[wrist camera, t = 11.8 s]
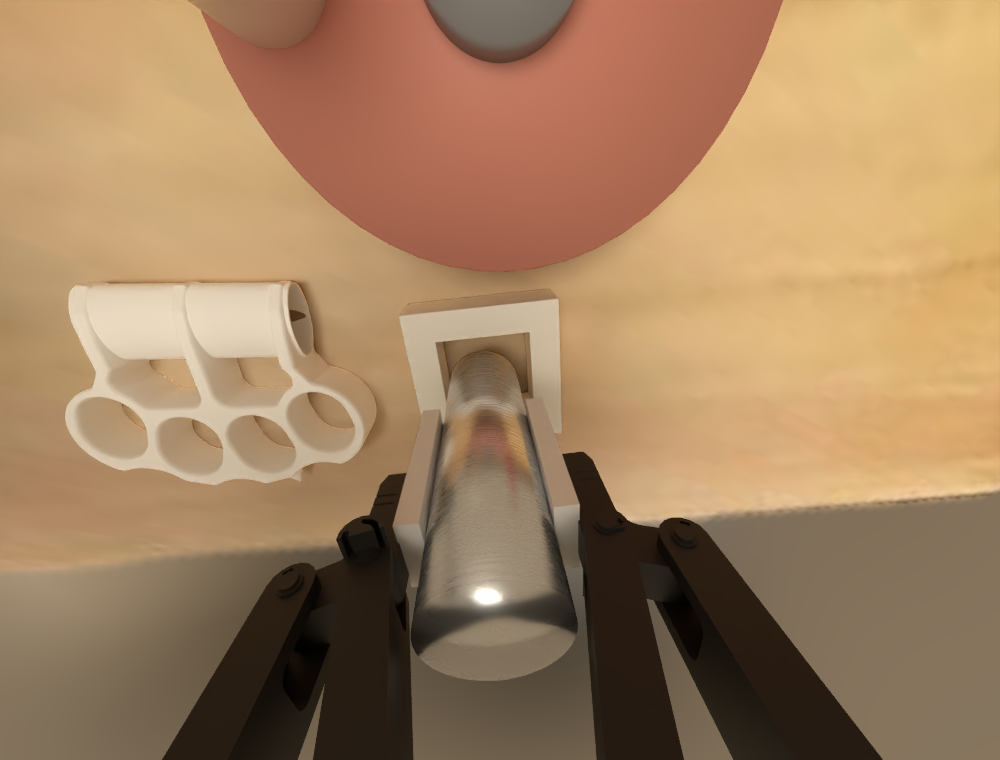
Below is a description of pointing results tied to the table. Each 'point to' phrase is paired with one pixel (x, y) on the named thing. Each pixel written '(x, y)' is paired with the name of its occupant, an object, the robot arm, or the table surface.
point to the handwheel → (492, 111)
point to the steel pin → (490, 539)
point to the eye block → (484, 319)
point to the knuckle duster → (207, 381)
